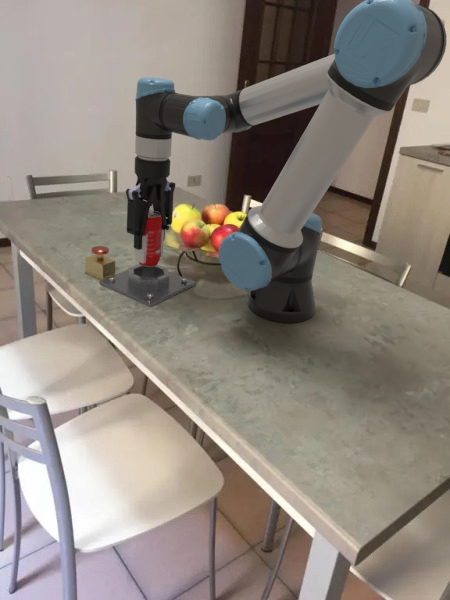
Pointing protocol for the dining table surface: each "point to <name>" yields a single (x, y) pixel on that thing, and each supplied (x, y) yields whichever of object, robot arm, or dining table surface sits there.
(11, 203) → the dining table surface
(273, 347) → the dining table surface
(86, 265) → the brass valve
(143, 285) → the flange socket
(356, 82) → the robot arm
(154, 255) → the beverage can
